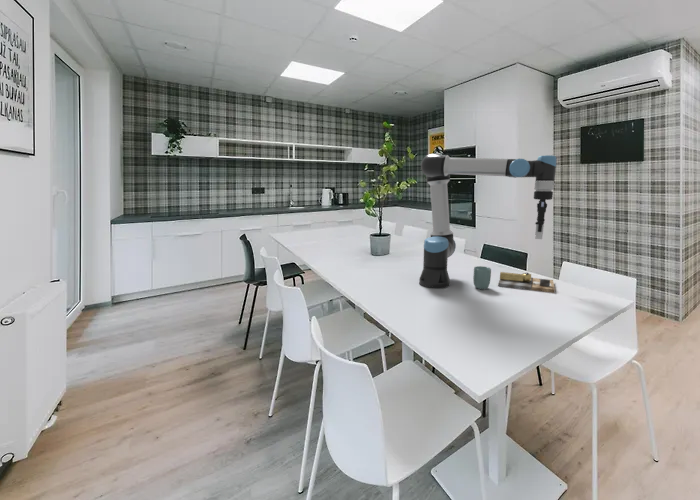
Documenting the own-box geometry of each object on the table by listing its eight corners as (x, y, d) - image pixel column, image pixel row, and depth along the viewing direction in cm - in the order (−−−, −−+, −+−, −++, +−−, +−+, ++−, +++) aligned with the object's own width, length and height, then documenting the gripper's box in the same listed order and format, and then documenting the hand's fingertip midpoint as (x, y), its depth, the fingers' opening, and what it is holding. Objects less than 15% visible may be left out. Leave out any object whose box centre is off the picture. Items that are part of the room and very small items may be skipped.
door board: (498, 286, 171) (498, 277, 171) (501, 277, 187) (502, 269, 186) (554, 292, 160) (555, 283, 160) (552, 283, 176) (553, 274, 175)
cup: (491, 291, 164) (492, 270, 162) (473, 290, 166) (475, 269, 164) (488, 286, 172) (489, 266, 170) (471, 285, 173) (472, 265, 171)
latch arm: (530, 280, 173) (531, 272, 173) (530, 282, 170) (531, 274, 169) (500, 277, 180) (500, 269, 179) (499, 279, 176) (500, 271, 176)
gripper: (554, 191, 145) (548, 241, 150) (552, 190, 167) (546, 233, 171) (534, 191, 149) (529, 240, 153) (534, 190, 171) (529, 232, 175)
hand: (538, 236), depth 162 cm, fingers open, 13 cm apart
